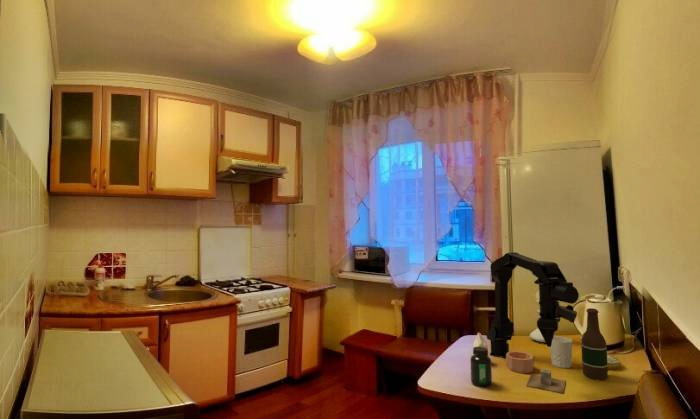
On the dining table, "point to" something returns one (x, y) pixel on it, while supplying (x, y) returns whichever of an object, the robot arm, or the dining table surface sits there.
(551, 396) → the dining table surface
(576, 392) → the dining table surface
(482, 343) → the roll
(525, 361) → the terracotta bowl
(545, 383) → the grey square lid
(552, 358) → the white cup
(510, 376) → the dining table surface
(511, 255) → the robot arm
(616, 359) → the decorated donut
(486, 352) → the supplement bottle
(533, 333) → the flower in vase
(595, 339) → the beer bottle
